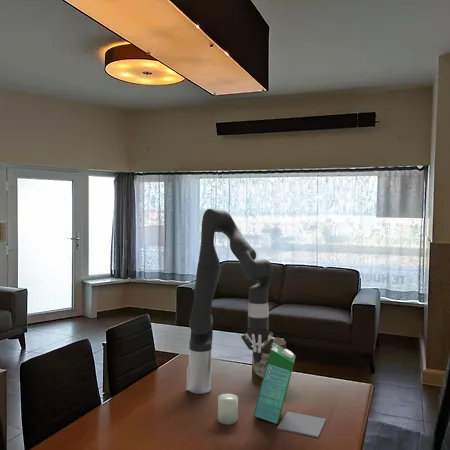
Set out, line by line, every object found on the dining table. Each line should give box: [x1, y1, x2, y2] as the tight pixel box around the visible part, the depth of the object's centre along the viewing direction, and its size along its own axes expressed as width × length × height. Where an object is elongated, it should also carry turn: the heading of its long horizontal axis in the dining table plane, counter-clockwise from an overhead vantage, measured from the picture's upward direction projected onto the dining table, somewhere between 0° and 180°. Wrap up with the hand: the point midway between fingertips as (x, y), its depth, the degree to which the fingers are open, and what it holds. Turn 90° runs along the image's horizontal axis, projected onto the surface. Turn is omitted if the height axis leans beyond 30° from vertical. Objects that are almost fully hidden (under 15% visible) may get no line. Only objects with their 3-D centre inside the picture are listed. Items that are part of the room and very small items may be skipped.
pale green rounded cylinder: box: [217, 393, 239, 425], centre depth 160 cm, size 7×7×8 cm
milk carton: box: [253, 342, 296, 425], centre depth 162 cm, size 9×9×25 cm
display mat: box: [276, 411, 327, 439], centre depth 158 cm, size 14×14×1 cm
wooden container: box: [251, 331, 287, 387], centre depth 198 cm, size 15×15×22 cm
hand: (258, 361), depth 165 cm, fingers closed
